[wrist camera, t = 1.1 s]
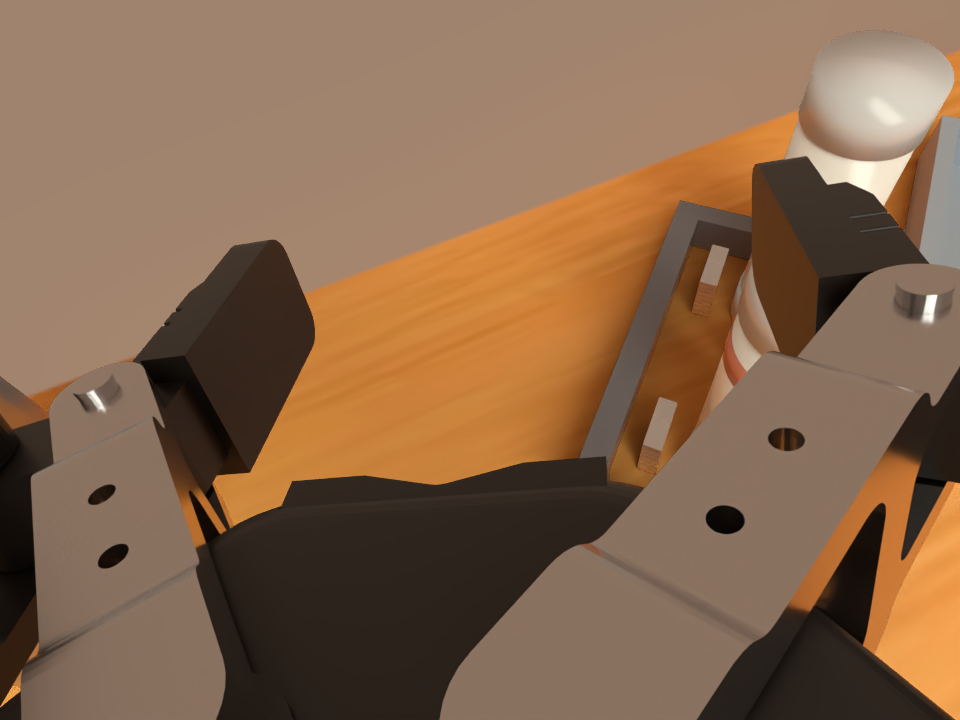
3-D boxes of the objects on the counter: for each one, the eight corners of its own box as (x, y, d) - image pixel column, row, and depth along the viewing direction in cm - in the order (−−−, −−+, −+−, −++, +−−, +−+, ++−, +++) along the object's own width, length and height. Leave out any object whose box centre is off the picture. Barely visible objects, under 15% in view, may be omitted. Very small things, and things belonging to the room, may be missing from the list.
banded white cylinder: (669, 500, 31) (736, 312, 19) (694, 418, 33) (771, 202, 21) (768, 535, 30) (906, 359, 18) (789, 448, 32) (927, 237, 20)
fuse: (721, 336, 35) (804, 98, 23) (741, 272, 37) (828, 21, 25) (810, 361, 34) (946, 124, 22) (827, 294, 36) (960, 42, 24)
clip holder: (562, 516, 31) (562, 495, 29) (674, 226, 39) (681, 193, 37) (861, 630, 28) (886, 616, 25) (919, 287, 35) (942, 254, 33)
